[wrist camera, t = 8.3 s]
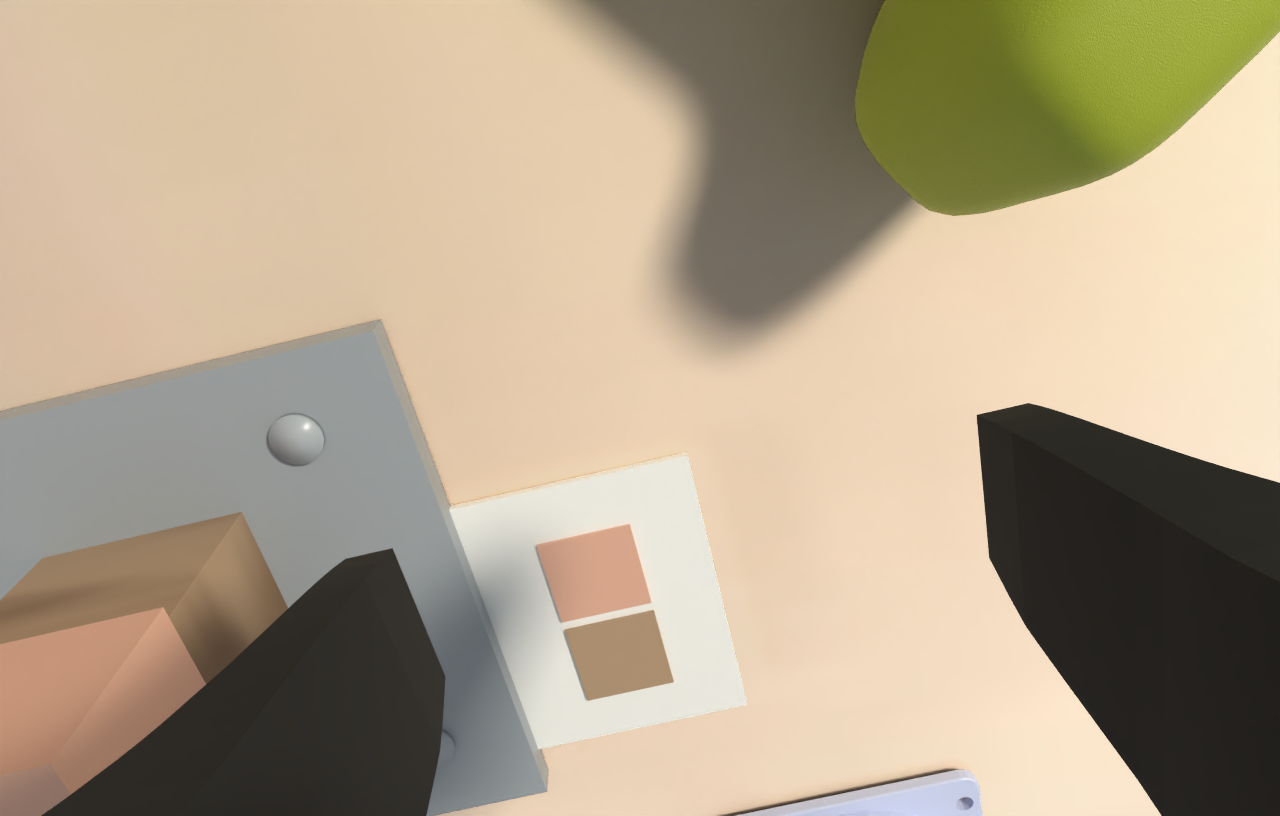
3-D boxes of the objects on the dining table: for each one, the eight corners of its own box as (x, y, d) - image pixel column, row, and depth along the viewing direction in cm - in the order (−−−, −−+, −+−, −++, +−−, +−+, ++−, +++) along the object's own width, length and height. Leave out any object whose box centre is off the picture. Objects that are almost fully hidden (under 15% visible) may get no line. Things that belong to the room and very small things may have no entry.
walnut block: (320, 674, 23) (269, 798, 20) (137, 715, 24) (53, 845, 20) (241, 511, 21) (168, 616, 18) (42, 557, 22) (-70, 670, 18)
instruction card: (746, 699, 25) (748, 707, 25) (538, 744, 26) (538, 752, 25) (687, 451, 22) (688, 457, 22) (450, 505, 22) (448, 512, 22)
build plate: (548, 769, 26) (546, 797, 25) (90, 866, 27) (73, 896, 26) (380, 319, 20) (371, 334, 20) (-194, 458, 21) (-230, 478, 20)
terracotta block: (265, 791, 20) (189, 971, 16) (48, 837, 20) (-74, 1024, 16) (163, 606, 18) (50, 764, 14) (-77, 661, 18) (-249, 829, 14)
